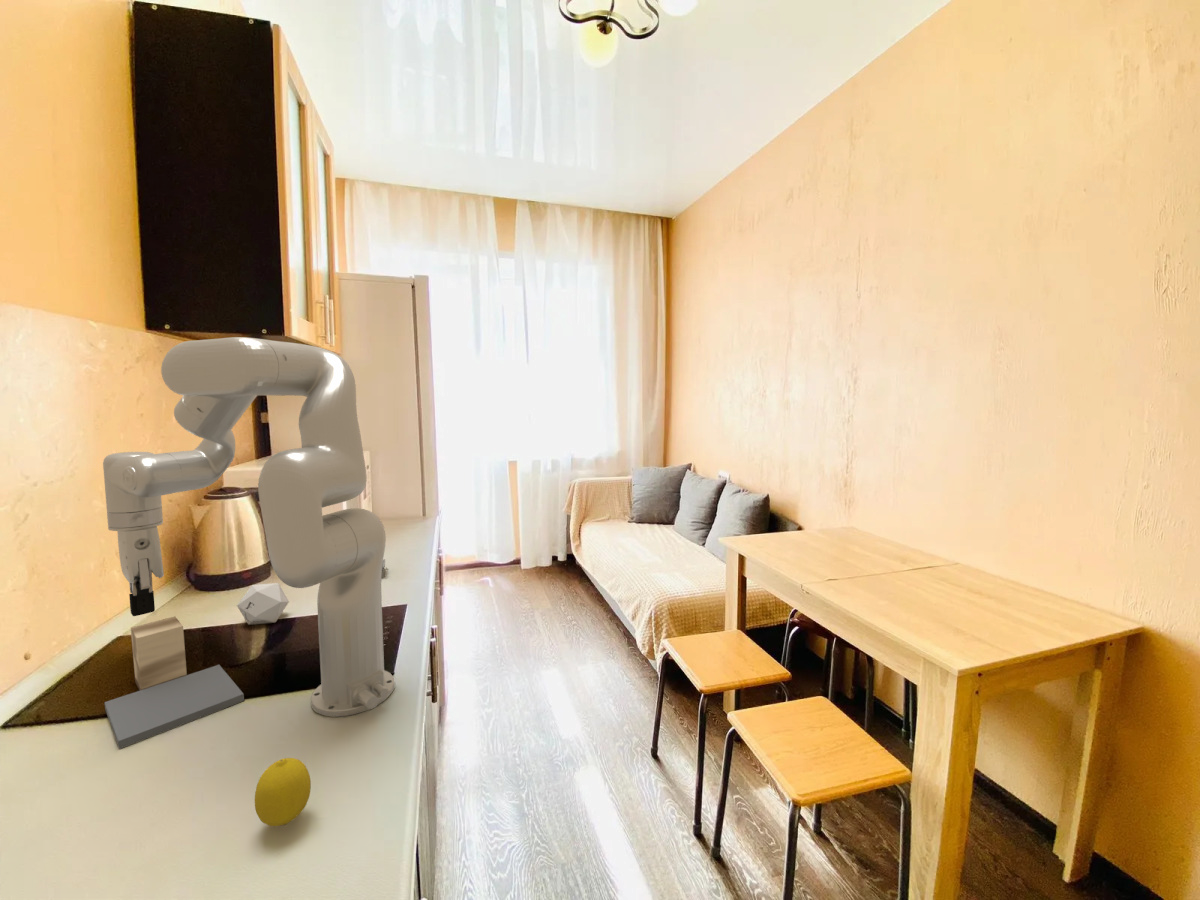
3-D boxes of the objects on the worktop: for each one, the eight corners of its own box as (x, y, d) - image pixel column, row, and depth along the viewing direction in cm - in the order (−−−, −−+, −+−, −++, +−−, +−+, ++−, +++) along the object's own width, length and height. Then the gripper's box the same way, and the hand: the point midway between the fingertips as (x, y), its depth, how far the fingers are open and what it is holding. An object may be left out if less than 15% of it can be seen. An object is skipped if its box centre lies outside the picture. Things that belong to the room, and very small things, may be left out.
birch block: (187, 680, 88) (182, 625, 88) (141, 695, 84) (136, 638, 83) (179, 668, 92) (175, 616, 91) (135, 682, 88) (130, 627, 87)
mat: (244, 700, 82) (243, 693, 82) (119, 748, 71) (118, 741, 71) (219, 670, 91) (219, 664, 91) (105, 709, 80) (104, 702, 80)
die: (238, 622, 113) (223, 598, 106) (273, 591, 119) (260, 567, 113) (266, 639, 111) (253, 616, 104) (300, 608, 118) (289, 584, 111)
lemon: (245, 835, 57) (240, 770, 56) (290, 799, 62) (287, 739, 61) (279, 850, 55) (275, 783, 54) (323, 812, 60) (319, 750, 60)
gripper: (171, 521, 91) (177, 618, 93) (154, 509, 101) (160, 596, 103) (114, 529, 85) (122, 632, 87) (102, 515, 95) (109, 608, 97)
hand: (142, 612), depth 95 cm, fingers closed
